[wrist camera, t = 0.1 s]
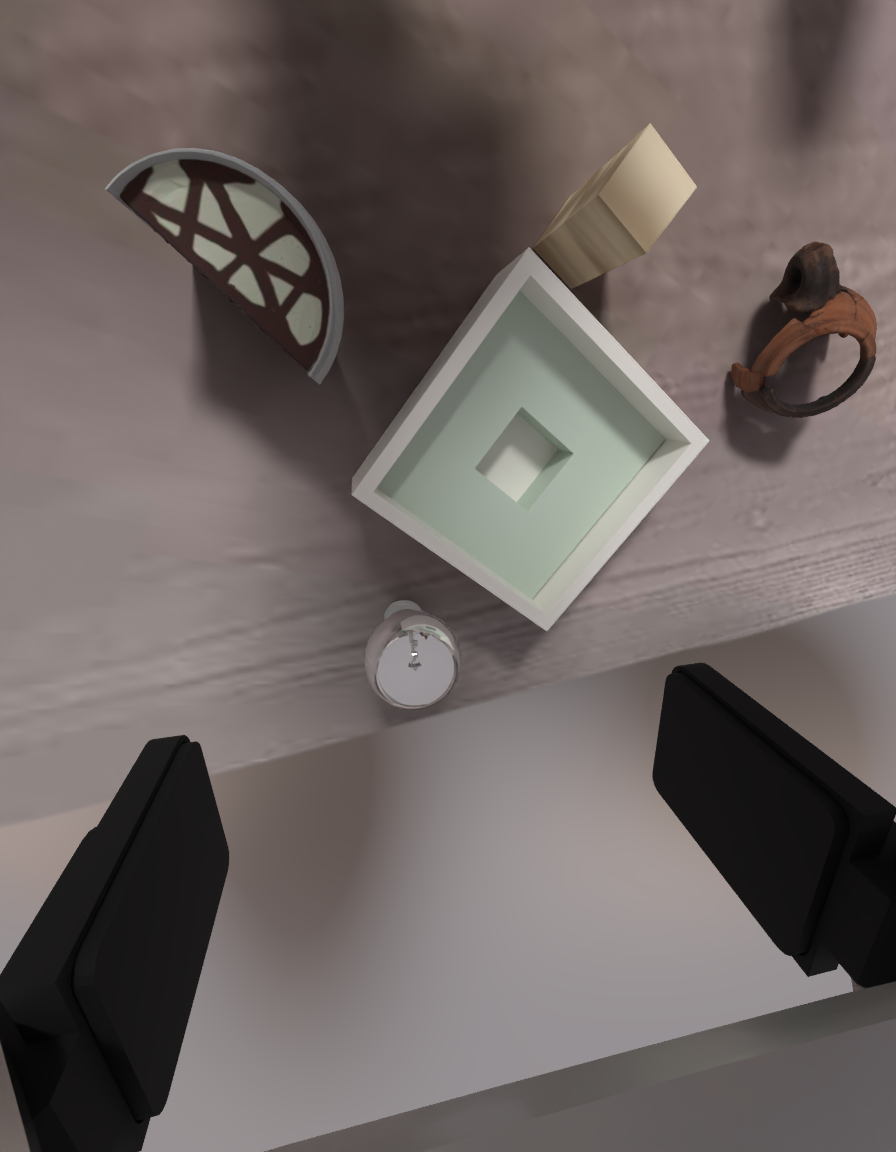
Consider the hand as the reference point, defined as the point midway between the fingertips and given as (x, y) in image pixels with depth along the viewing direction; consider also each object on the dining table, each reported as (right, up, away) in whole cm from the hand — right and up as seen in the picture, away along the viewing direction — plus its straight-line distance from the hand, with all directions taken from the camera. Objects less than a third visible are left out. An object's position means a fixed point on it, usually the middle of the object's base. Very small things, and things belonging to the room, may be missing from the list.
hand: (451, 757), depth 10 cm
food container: (-11, +23, +23) cm, 35 cm away
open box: (+5, +14, +30) cm, 33 cm away
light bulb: (-4, +1, +33) cm, 33 cm away
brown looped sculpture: (+27, +24, +31) cm, 47 cm away
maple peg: (+9, +28, +25) cm, 38 cm away
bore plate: (+5, +14, +30) cm, 33 cm away
